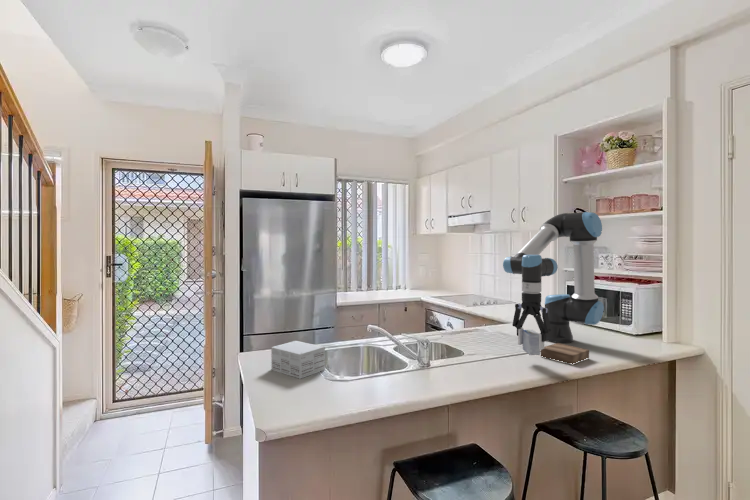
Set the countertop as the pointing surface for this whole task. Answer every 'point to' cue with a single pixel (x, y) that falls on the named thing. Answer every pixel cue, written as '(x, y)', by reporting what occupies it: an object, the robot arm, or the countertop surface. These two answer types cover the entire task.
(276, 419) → the countertop surface
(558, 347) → the walnut base block
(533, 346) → the medicine box
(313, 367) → the supplement box
